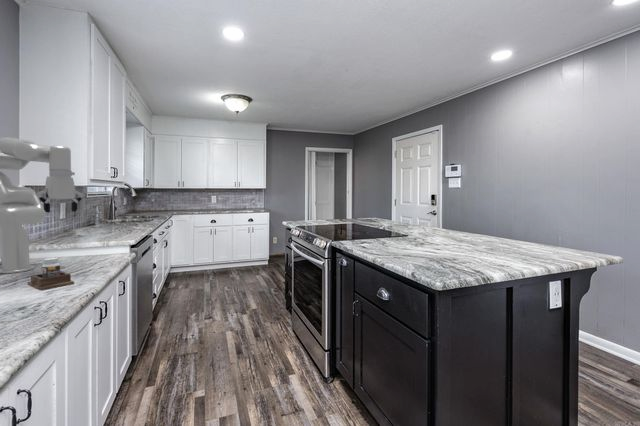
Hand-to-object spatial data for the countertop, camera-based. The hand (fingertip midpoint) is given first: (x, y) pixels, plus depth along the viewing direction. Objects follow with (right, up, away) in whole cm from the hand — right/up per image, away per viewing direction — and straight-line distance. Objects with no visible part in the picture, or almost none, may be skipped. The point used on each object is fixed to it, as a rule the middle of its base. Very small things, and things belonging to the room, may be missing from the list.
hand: (61, 211), depth 140 cm
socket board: (+4, -31, -10) cm, 32 cm away
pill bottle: (+4, -30, -10) cm, 32 cm away
